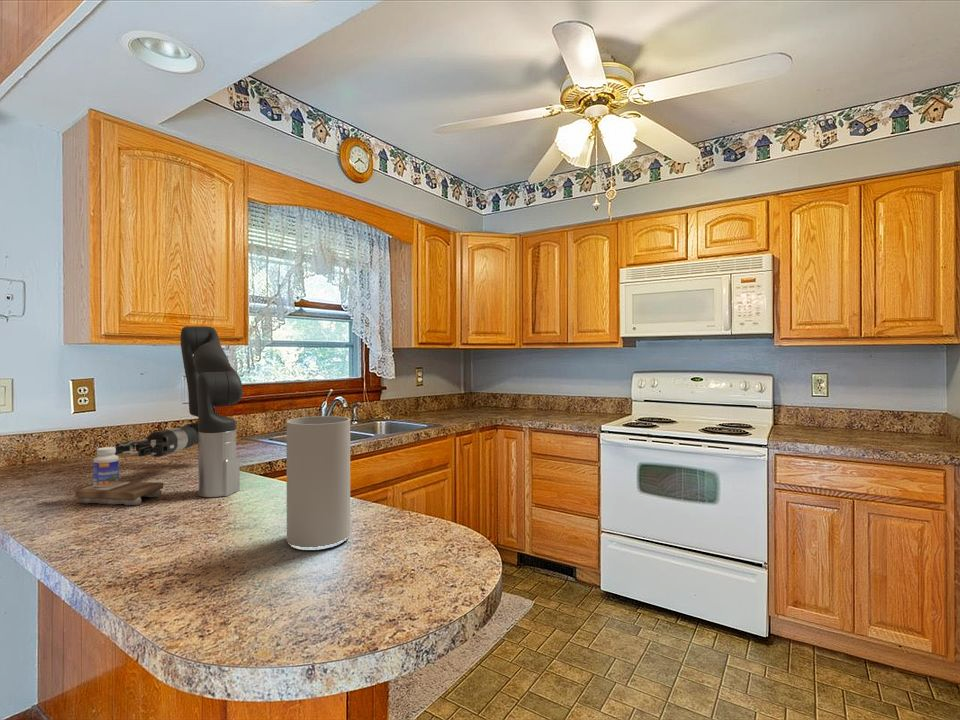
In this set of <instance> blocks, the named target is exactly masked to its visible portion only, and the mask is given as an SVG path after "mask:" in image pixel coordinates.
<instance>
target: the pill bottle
mask: <svg viewBox="0 0 960 720" xmlns="http://www.w3.org/2000/svg"><path fill="white" fill-rule="evenodd" d="M115 453H116V448H115V446H107V447H106V446H105V447H99V448H97V449H96V455H97V456H96V457H94V458H93V461H92V462H93V463H92V464H93V466H92V468H93V470H92V472H93V473H92V475H93V476H92V477H93V478H92V486H94V487H99V488H100V487H110V486H115V485H117V484H118V483H119V481H120V471H119V470H120V457H119V455H115Z"/></svg>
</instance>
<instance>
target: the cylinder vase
mask: <svg viewBox="0 0 960 720" xmlns="http://www.w3.org/2000/svg"><path fill="white" fill-rule="evenodd" d="M285 423H286V428H285V429H286V431H285V432H286V437H285V438H286V543H287V542H288V543H289V544H291V545H295V546H300V547H318V546H325V545H330V544H334V543H337V542H339V541H341V540H344V539H345V538H347V537H348V536H349V535H350V536H351V418H349V417H346V416H338V415H337V416H335V415H334V416H333V415H317V416H315V415H313V416H303V417H297V418H290V419H287V420H286V421H285ZM288 543H287V544H288Z"/></svg>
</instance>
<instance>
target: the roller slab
mask: <svg viewBox="0 0 960 720" xmlns="http://www.w3.org/2000/svg"><path fill="white" fill-rule="evenodd" d="M163 488H164V482H158V481H157V482H155V481H153V482H152V481H151V482H150V481H124V480H123V481H120V480H119V483H118V484H117V485H115V486H110V487H100V488H99V487H94V486H93V485H91V486H90V485H89V486H86V487H83V488H80V489H78V490H75V491H74V493H75V495H74V496H75V497H76V498H77V499H76V500H77V503H78V504H88V503H99V504H98V505H115V504H124V505H123V506H139V505H138V504H140V505H141V504H142V497H143V498H160V497H161V496H162V494H163V493H162V489H163Z"/></svg>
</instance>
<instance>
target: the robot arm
mask: <svg viewBox="0 0 960 720" xmlns="http://www.w3.org/2000/svg"><path fill="white" fill-rule="evenodd" d="M179 337H180V339H179V340H180V341H179V342H180V350H181V357H182V361H183V368H184V374H185V379H186V384H187V395H188V396H187V397H188V410H189V411H188V412H189V414H190V415H191V416H194V417H197V421H198V422H191V423H187V424H185V425H183V426H180V427H176V428H175V427H174V428H167V429H163V430H159V431H153V432H151V433H150V434H149V435H148V436H146V438H145V439H140V440H128V441H124V442H120V443H118V442H117V443H115V446H114V447H115V448H116V453H115V455H117V456H119V455H123V454H128V453H129V454H130V455H135V454H137V455H138V457H142V458H143V457H145V456H149V455H151V456H152V457H155V458H156V457H157V458H160V457H163V456H167V455H170V454H174V453H177V452H179V451H181V450H184V449H188V448H191V447H193V446H194V445H197V446H198V447H197V448H198V449H197V450H198V451H197V453H198V455H197V457H198V460H197V461H198V465H197V469H198V471H197V472H198V473H197V475H198V496H199V497H203V498H218V497H228V496H230V495H232V494H234V493H236V492H238V491H240V472H241V471H240V470H241V469H240V456H238V455H237V422H236V420H235V419H234V418H232V417H230V416H225V415H221V414H219V413H217V412H215V411H214V407H215V406H230V405H236V404H237V403H239V402H240V401H241V399H242V396H243V384H242V383H243V382H242V380H241V378H240V376H239V374H238V373H237V371H236V370H235V369H234V368H233V367H232V365H231V364H230V361H229V359H228V356H227V354H226V353H225V351H224V349H223V347H222V344H221V341H220V338H219V335H218V332H217V330H216V329H215V328H214V327H213V326H207V325H206V326H200V325H199V326H197V325H196V326H193V325H192V326H191V325H190V326H184V327H182V328H181V330H180V336H179Z"/></svg>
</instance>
